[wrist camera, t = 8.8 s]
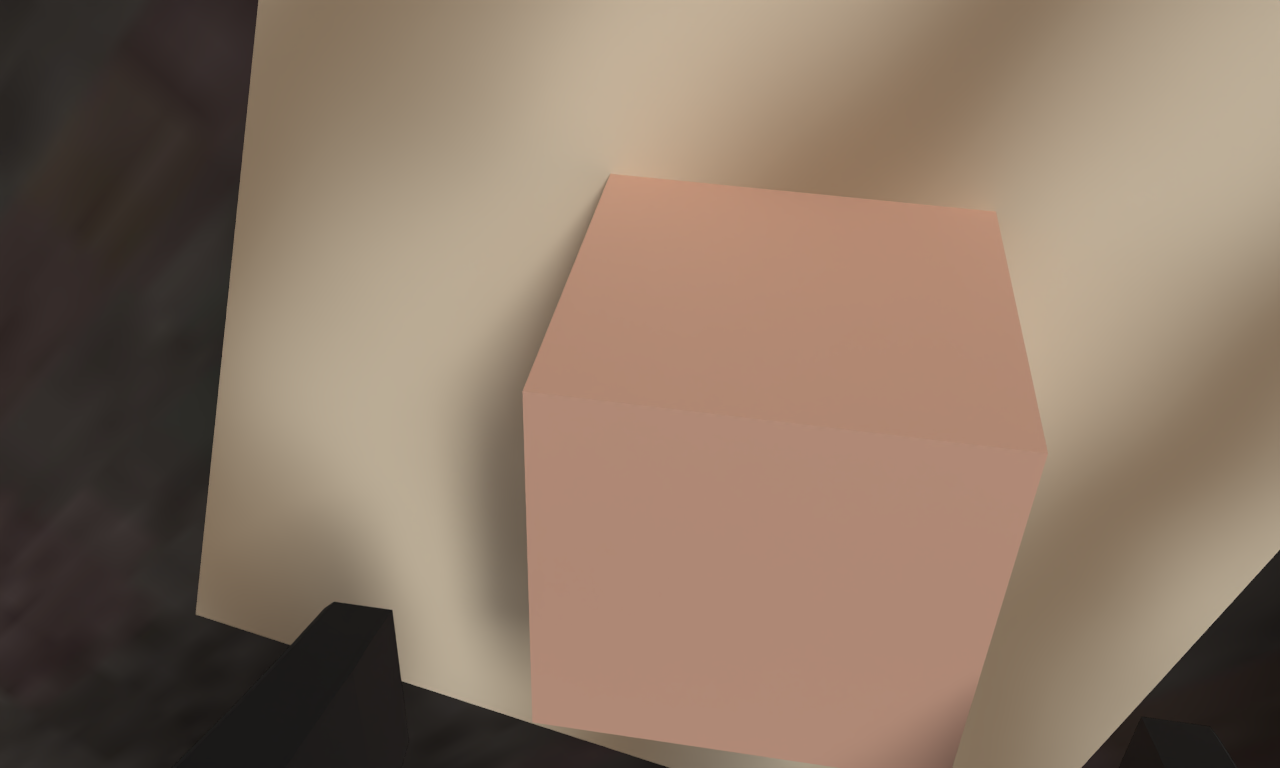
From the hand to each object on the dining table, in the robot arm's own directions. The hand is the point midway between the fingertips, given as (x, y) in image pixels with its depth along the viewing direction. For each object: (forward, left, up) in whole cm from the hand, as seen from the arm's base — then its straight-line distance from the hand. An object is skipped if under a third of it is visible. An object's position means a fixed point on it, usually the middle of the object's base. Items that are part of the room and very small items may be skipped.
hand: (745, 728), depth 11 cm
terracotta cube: (0, 0, -7) cm, 7 cm away
